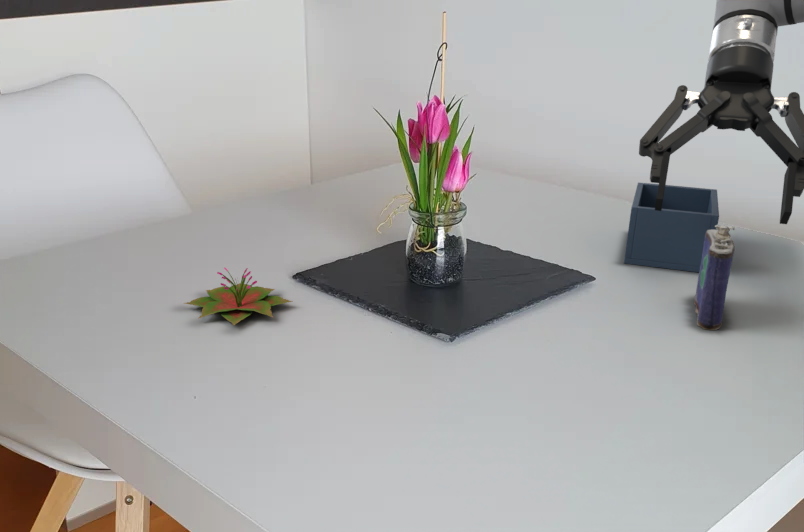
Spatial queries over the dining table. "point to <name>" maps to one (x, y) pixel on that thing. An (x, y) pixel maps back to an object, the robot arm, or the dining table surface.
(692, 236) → the bin
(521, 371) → the dining table surface
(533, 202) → the dining table surface
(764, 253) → the dining table surface
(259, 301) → the lily flower
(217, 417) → the dining table surface
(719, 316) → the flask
